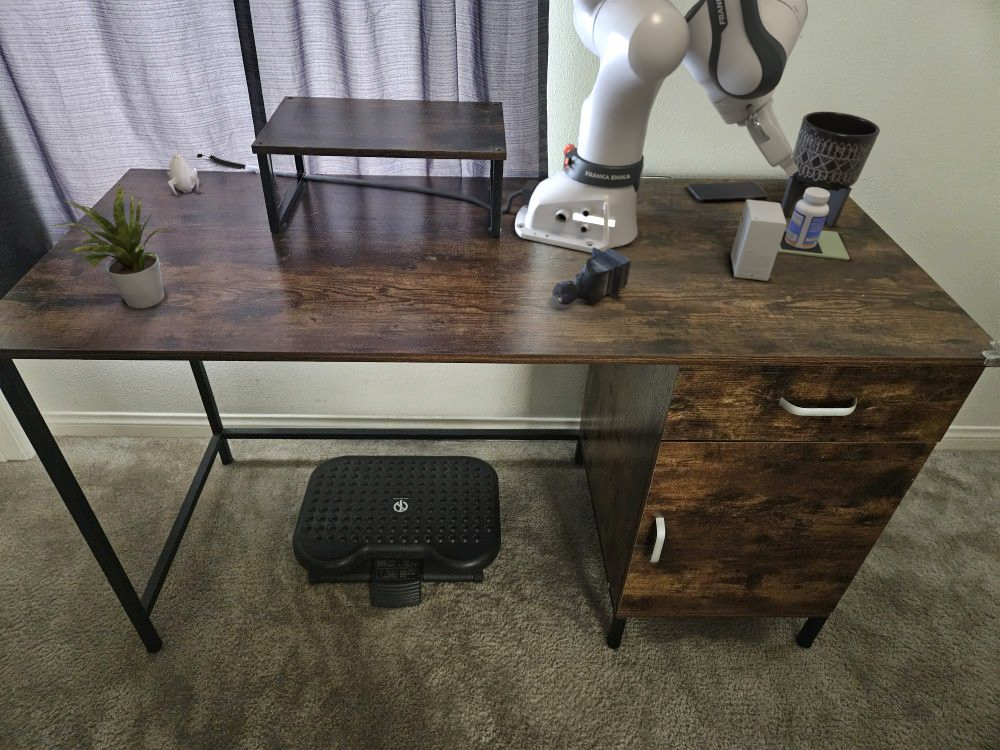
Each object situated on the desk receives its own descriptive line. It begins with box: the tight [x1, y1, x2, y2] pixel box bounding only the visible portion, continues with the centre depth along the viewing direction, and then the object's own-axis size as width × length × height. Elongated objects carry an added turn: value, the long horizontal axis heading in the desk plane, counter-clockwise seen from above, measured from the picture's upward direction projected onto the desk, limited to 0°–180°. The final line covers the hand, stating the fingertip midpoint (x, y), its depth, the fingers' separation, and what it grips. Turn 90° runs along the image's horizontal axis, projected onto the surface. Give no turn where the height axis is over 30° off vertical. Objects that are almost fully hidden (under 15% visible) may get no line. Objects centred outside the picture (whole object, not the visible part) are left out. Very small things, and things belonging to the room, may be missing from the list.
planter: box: [780, 111, 881, 228], centre depth 121 cm, size 13×13×18 cm
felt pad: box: [777, 226, 851, 261], centre depth 118 cm, size 14×10×1 cm
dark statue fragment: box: [552, 247, 632, 306], centre depth 99 cm, size 6×13×6 cm, turn 130°
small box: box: [730, 199, 788, 282], centre depth 107 cm, size 8×6×10 cm
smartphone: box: [687, 180, 769, 203], centre depth 133 cm, size 7×1×15 cm
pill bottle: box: [785, 187, 830, 249], centre depth 114 cm, size 5×5×10 cm
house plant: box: [51, 183, 170, 309], centre depth 93 cm, size 14×14×16 cm
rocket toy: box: [166, 150, 200, 196], centre depth 124 cm, size 5×5×8 cm
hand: (788, 160), depth 110 cm, fingers open, 8 cm apart
